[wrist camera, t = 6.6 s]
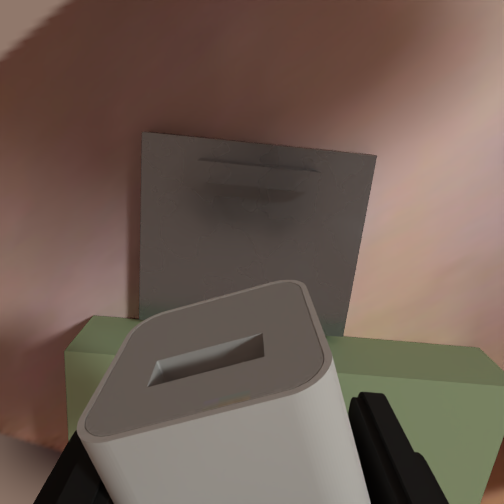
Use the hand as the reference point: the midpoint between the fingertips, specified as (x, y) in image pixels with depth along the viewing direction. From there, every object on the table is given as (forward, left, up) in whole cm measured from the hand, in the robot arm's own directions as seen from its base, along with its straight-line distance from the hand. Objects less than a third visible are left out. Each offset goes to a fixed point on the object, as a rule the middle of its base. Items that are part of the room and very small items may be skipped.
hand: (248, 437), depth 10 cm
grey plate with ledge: (-1, 0, -14) cm, 14 cm away
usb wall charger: (0, 0, -1) cm, 1 cm away
